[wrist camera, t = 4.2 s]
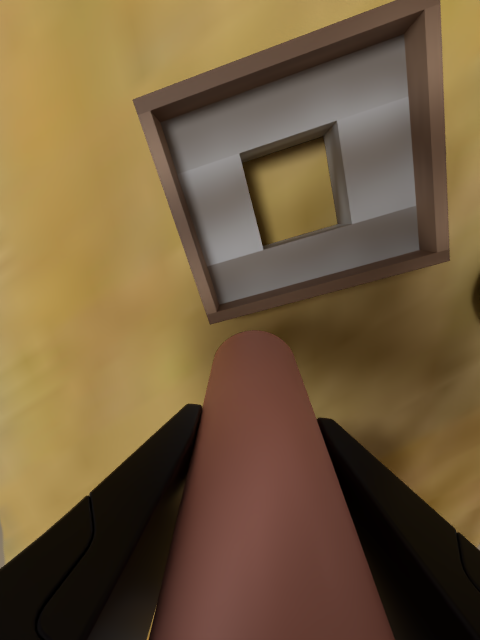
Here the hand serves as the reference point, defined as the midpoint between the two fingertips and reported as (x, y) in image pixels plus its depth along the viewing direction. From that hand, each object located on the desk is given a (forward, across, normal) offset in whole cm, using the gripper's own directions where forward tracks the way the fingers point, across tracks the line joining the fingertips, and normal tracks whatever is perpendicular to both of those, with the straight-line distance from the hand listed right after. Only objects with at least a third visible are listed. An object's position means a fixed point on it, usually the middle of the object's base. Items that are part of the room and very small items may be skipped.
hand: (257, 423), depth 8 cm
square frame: (+12, -2, -7) cm, 14 cm away
